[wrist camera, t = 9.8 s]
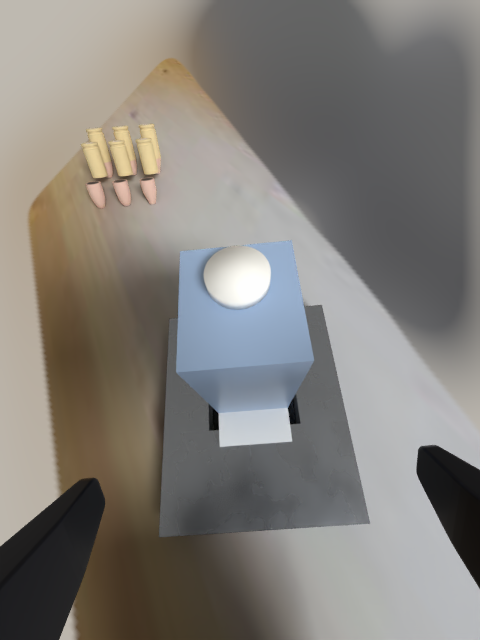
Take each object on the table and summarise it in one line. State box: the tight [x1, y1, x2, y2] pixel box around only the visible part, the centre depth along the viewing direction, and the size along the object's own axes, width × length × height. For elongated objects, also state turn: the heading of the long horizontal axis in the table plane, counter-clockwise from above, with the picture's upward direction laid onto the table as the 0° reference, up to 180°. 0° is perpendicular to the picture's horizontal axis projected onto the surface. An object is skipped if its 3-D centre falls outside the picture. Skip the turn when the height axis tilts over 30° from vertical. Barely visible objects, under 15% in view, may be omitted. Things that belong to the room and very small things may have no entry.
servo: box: [176, 240, 314, 447], centre depth 16 cm, size 10×4×13 cm, turn 4°
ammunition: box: [81, 124, 161, 209], centre depth 31 cm, size 5×7×8 cm
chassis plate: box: [159, 305, 370, 537], centre depth 20 cm, size 14×12×2 cm
